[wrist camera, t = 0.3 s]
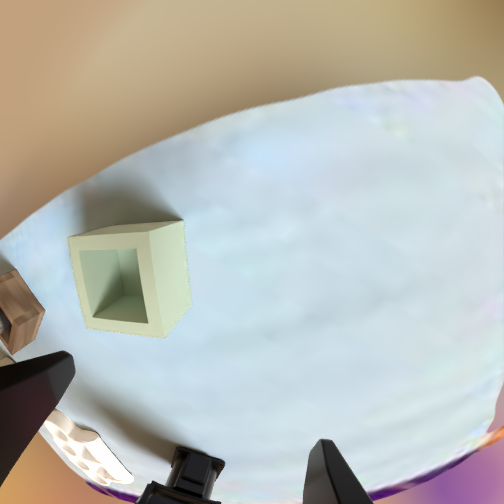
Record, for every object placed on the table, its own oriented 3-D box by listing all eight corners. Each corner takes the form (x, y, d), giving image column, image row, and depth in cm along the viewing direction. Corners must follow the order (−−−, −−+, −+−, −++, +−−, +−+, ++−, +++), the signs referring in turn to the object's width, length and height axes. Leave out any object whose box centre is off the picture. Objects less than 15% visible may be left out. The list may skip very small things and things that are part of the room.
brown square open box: (45, 310, 26) (18, 326, 21) (34, 339, 28) (11, 355, 23) (16, 269, 25) (-12, 280, 21) (7, 301, 27) (-16, 313, 22)
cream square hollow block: (192, 304, 23) (164, 338, 17) (123, 300, 24) (86, 328, 18) (183, 220, 21) (148, 231, 16) (112, 225, 22) (67, 237, 16)
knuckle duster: (145, 483, 33) (90, 468, 36) (91, 416, 30) (41, 404, 32) (139, 495, 30) (83, 478, 32) (80, 430, 27) (31, 414, 29)
